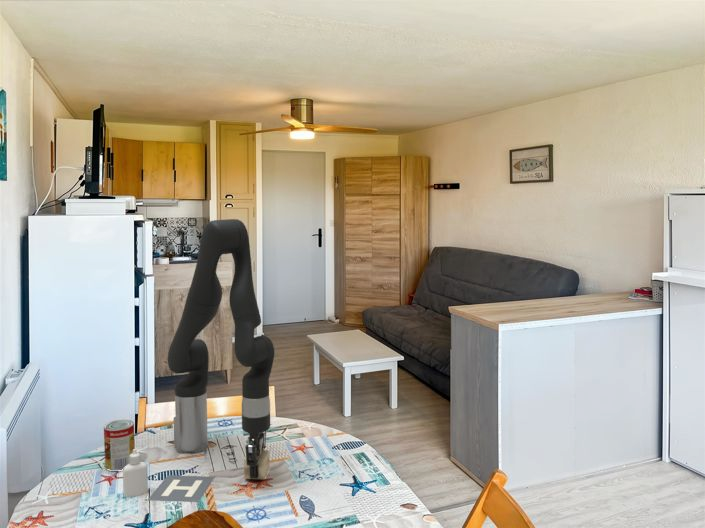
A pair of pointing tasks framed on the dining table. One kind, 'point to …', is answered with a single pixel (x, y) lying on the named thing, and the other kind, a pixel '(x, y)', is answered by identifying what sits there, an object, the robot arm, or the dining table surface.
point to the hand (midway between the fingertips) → (256, 472)
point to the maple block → (262, 466)
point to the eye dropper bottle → (135, 476)
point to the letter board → (181, 488)
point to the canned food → (118, 443)
